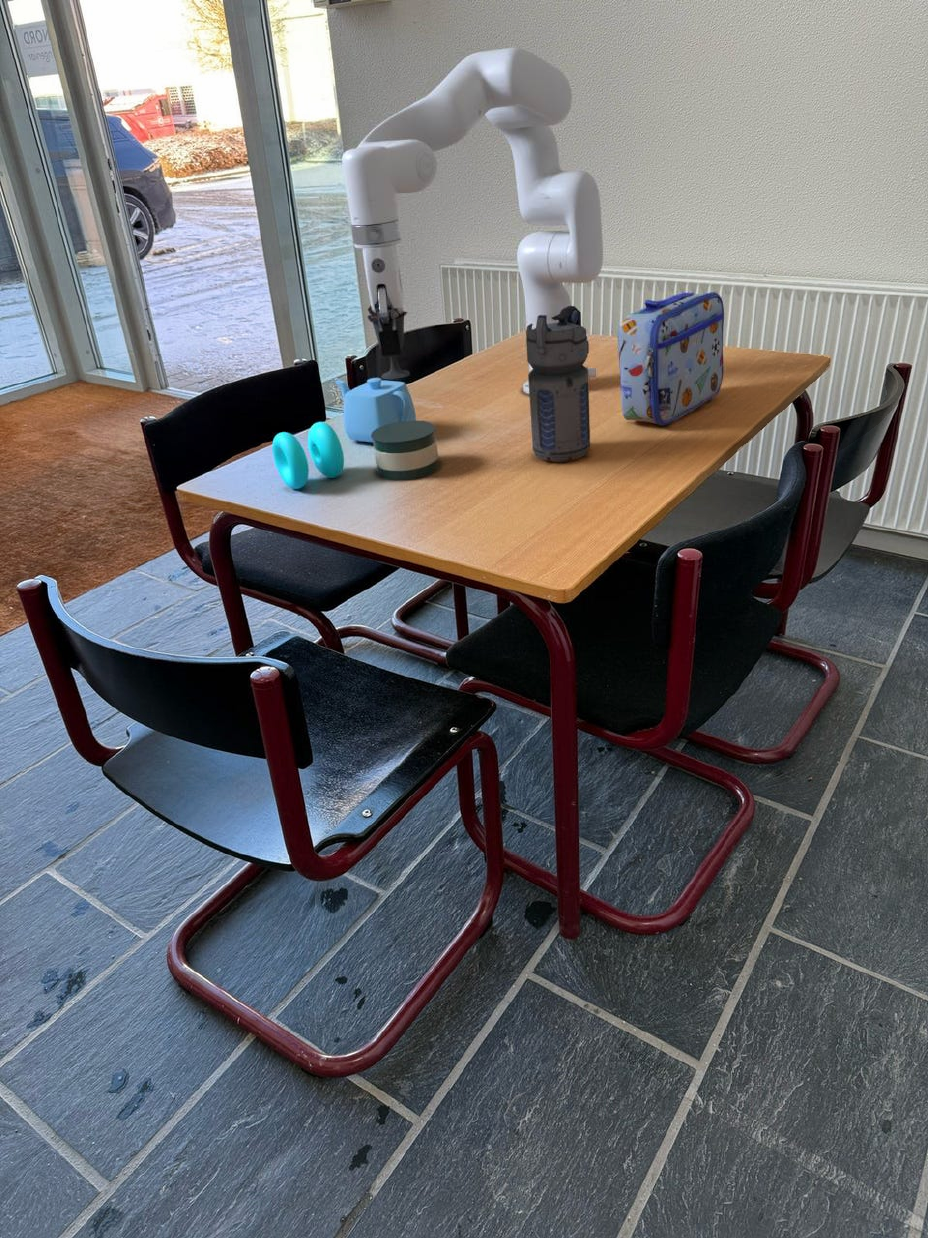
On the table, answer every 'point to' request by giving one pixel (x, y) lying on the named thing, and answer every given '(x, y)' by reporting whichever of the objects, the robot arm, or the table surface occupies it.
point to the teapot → (374, 407)
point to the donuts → (321, 449)
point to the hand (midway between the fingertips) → (392, 349)
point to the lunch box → (671, 357)
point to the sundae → (399, 318)
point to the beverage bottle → (559, 387)
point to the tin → (405, 449)
